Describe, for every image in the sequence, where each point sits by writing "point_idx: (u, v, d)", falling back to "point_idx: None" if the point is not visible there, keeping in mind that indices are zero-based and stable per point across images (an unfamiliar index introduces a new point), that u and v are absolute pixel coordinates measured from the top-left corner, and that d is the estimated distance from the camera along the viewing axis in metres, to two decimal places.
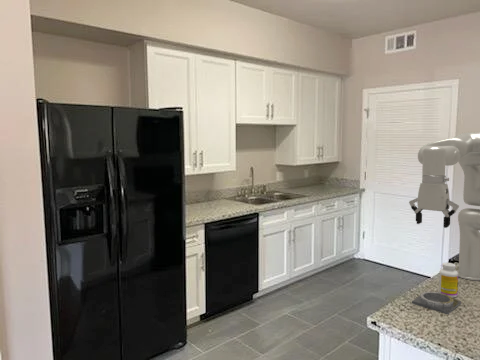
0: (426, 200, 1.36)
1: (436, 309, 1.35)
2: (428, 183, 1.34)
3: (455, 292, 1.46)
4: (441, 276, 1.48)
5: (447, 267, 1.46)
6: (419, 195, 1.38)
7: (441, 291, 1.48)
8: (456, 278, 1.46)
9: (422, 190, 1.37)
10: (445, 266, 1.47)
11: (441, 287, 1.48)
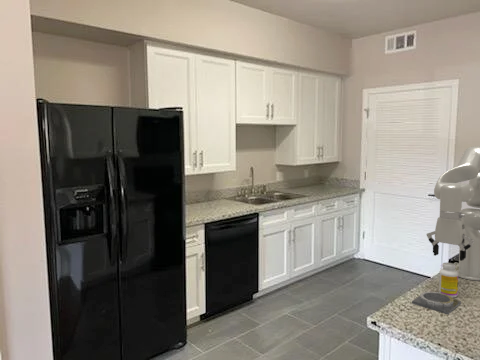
0: (443, 234, 1.46)
1: (436, 309, 1.35)
2: (445, 218, 1.44)
3: (455, 292, 1.46)
4: (441, 276, 1.48)
5: (447, 267, 1.46)
6: (436, 229, 1.48)
7: (441, 291, 1.48)
8: (456, 278, 1.46)
9: (440, 224, 1.47)
10: (445, 266, 1.47)
11: (441, 287, 1.48)
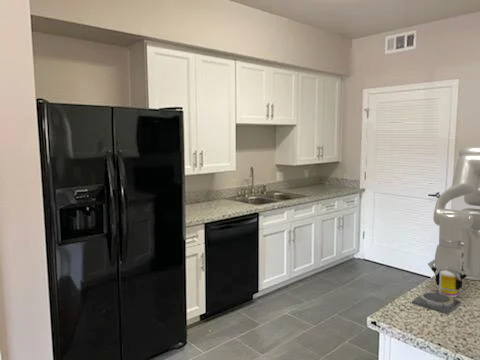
0: (442, 262, 1.48)
1: (436, 309, 1.35)
2: (445, 247, 1.45)
3: (455, 292, 1.46)
4: (441, 276, 1.48)
5: (447, 267, 1.46)
6: (436, 256, 1.49)
7: (441, 291, 1.48)
8: (456, 278, 1.46)
9: (439, 252, 1.48)
10: None
11: (441, 287, 1.48)
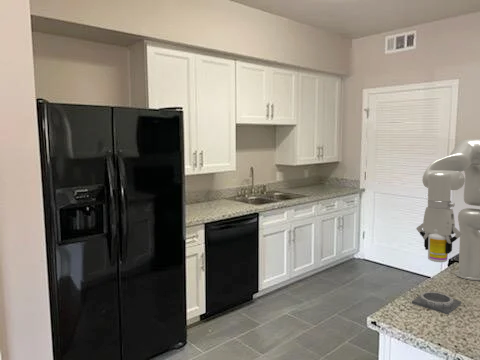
0: (431, 225, 1.38)
1: (436, 309, 1.35)
2: (434, 208, 1.36)
3: (445, 256, 1.37)
4: (429, 239, 1.39)
5: (436, 230, 1.37)
6: (425, 219, 1.40)
7: (430, 256, 1.39)
8: (446, 241, 1.36)
9: (428, 214, 1.39)
10: None
11: (430, 251, 1.39)
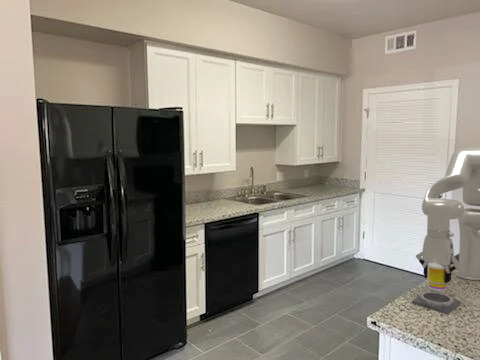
0: (430, 254, 1.39)
1: (436, 309, 1.35)
2: (433, 238, 1.37)
3: (444, 285, 1.37)
4: (429, 268, 1.40)
5: (435, 259, 1.38)
6: (424, 248, 1.41)
7: (429, 284, 1.40)
8: (445, 270, 1.37)
9: (427, 243, 1.40)
10: None
11: (429, 280, 1.40)
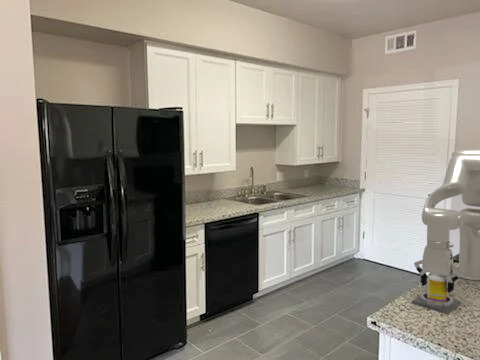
0: (430, 264, 1.40)
1: (436, 309, 1.35)
2: (433, 248, 1.37)
3: (444, 298, 1.38)
4: (429, 280, 1.40)
5: None
6: (424, 258, 1.41)
7: (429, 297, 1.40)
8: (445, 283, 1.38)
9: (427, 254, 1.40)
10: None
11: (429, 292, 1.40)
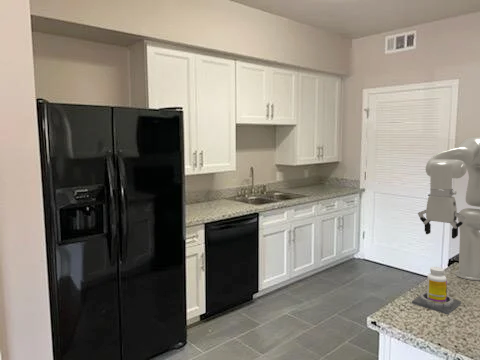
0: (434, 212, 1.43)
1: (436, 309, 1.35)
2: (436, 196, 1.41)
3: (443, 298, 1.38)
4: (428, 281, 1.40)
5: (435, 272, 1.39)
6: (428, 207, 1.45)
7: (429, 297, 1.40)
8: (444, 283, 1.38)
9: (431, 203, 1.44)
10: (433, 271, 1.39)
11: (429, 293, 1.40)
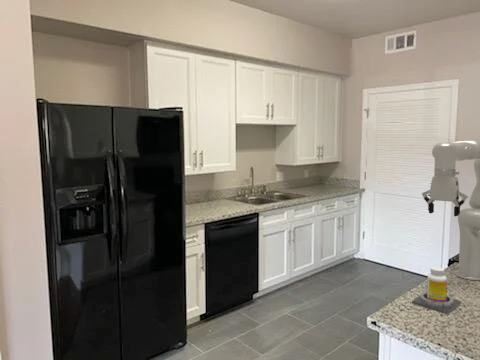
0: (437, 192, 1.51)
1: (436, 309, 1.35)
2: (440, 176, 1.48)
3: (443, 298, 1.38)
4: (429, 281, 1.40)
5: (435, 272, 1.39)
6: (431, 187, 1.53)
7: (429, 297, 1.40)
8: (445, 283, 1.38)
9: (434, 182, 1.51)
10: (433, 270, 1.39)
11: (429, 293, 1.40)
